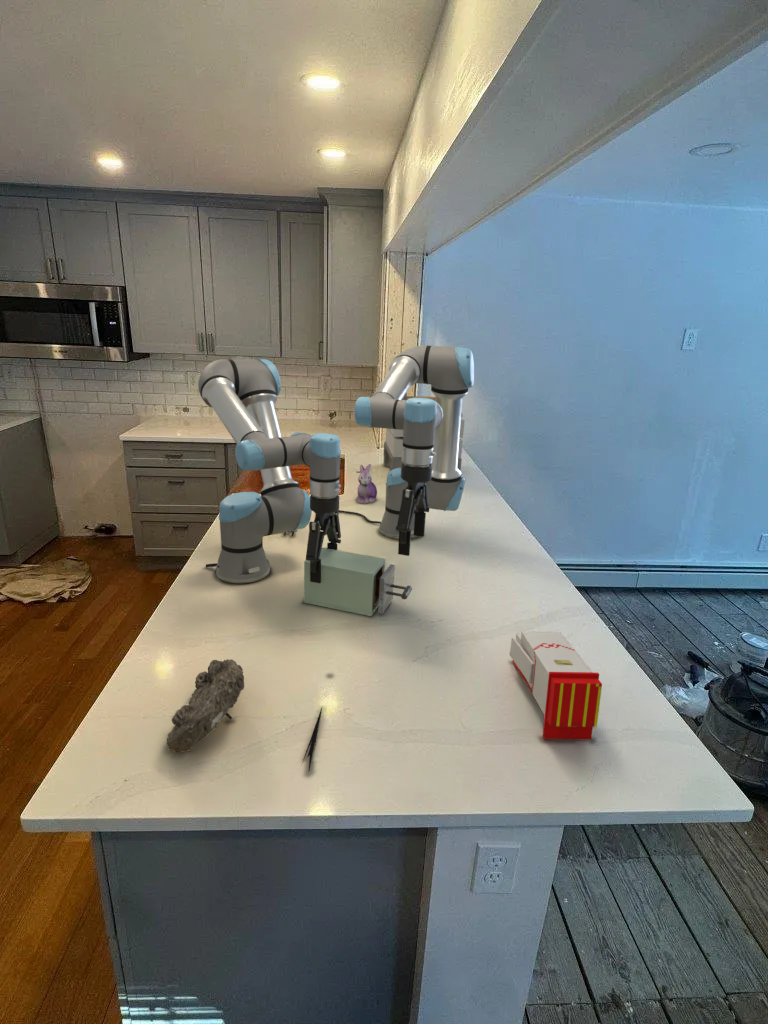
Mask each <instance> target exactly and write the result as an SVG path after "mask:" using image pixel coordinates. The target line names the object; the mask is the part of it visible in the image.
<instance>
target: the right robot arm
mask: <svg viewBox="0 0 768 1024" xmlns="http://www.w3.org/2000/svg"><path fill="white" fill-rule="evenodd" d="M474 383H475V361H474V354H473V352H472V350H471V349H469V348H467V347H460V346H449V345H428V344H422V345H420V344H419V345H415V346H412V347H410V348H407V349H406V350H403V351H402V352H400V353H399V354H397V355H396V356H395V357H394V358H393V359H392V360H391V362H390V364H389V366H388V372H387V373H386V375H385V376H384V378H383V380H382V381H381V382H380V384H379V385H378V387H377V388H376V390H375V391H374V392H373V394H372V395H371V397H370V396H359V397H358V398H357V399H356V401H355V404H354V421H355V423H356V425H358V426H361V427H367V428H375V429H386V428H387V429H398V430H403V445H402V459H401V461H402V462H403V464H402V465H401V468H396V469H393V470H391V471H390V470H389V472H388V473H387V475H386V482H385V504H384V505H385V507H384V508H385V509H384V513H383V515H382V519H381V521H379V520H370V519H369V518H368V517H366V516H365V515H364V514H363V513H359V512H355V511H349V510H340V509H339V513H343V514H348V515H349V514H350V515H357V516H360V517H362V518H363V519H364V520H365V521H366V522H368V523H371V524H379V526H378V533H379V534H380V535H381V536H382V537H385V538H387V539H389V540H395V541H398V544H397V545H398V547H397V548H398V549H397V555H401V556H406V557H409V556H410V554H411V540H415V539H418V538H420V537H423V538H424V537H425V531H426V516H427V513H429V512H430V510H431V509H432V510H439V511H443V512H445V511H447V512H456V511H457V510H458V509H459V508H460V504H461V501H462V498H463V497H462V496H463V493H464V488H465V484H466V478H465V477H463V476H462V470H461V471H460V470H459V469H458V468H457V464H458V451H459V438H460V426H461V418H462V417H461V413H462V414H463V411H462V410H463V399H464V397H465V396H466V395H467V394H468V393H469V389H470V388H473V387H474ZM415 384H423V385H430V392H431V393H432V394H433V395H434V397H435V401H434V400H432V399H427V398H410V399H408V400H402V399H403V398H404V396H405V394H406V393H407V394H408V392H409V389H410V388H411V387H412V386H414V385H415ZM460 439H461V438H460ZM431 463H432V465H431Z"/></svg>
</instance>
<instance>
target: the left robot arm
mask: <svg viewBox="0 0 768 1024" xmlns="http://www.w3.org/2000/svg"><path fill="white" fill-rule="evenodd" d="M279 373H280V372H279V371H278V368H277V367H276V365H275V364H274V363H273V362H272V361H270V360H269V359H265V358H257V357H256V358H237V359H236V358H233V359H232V358H231V359H229V358H228V359H227V358H221V359H216V360H214V361H212V362H210V363H208V364H207V365H206V366H205V367H204V368H203V370H202V371H201V373H200V374H199V378H198V383H197V387H198V393H199V395H200V397H201V399H202V400H203V402H204V403H205V404H206V406H207V407H210V408H212V409H213V411H214V412H215V414H216V415H217V417H218V418H219V420H220V421H221V423H222V424H223V427H225V429H226V430H227V432H228V434H229V435H230V437H231V438H232V440H233V441H234V442H235V444H236V445H235V449H234V453H235V454H234V456H235V460H236V463H237V466H238V467H239V469H241V470H242V471H245V472H247V471H254V472H255V471H256V472H257V471H260V474H261V475H260V476H261V479H262V484H263V487H262V488H261V490H260V493H259V492H256V491H240V492H236V493H232V494H229V495H228V496H225V497H224V498H223V499H221V501H220V503H219V506H218V507H219V509H218V510H219V512H218V520H219V534H220V547H221V548H220V552H219V556H218V559H217V562H216V563H215V562H214V563H206V564H205V568H213V567H216V569H215V575H216V577H217V578H218V579H219V580H220V581H223V582H225V583H228V584H229V583H230V584H235V585H236V584H238V585H239V584H240V585H241V584H243V585H244V584H251V583H255V582H259V581H261V580H263V579H265V578H266V577H267V576H268V575H269V574H270V572H271V569H270V568H271V566H270V562H269V560H268V558H267V555H266V553H265V549H264V545H263V544H264V541H263V539H264V537H269V536H274V535H278V534H284V532H286V533H288V532H290V531H291V533H292V532H294V531H296V530H297V531H298V530H303V529H305V528H306V527H308V529H309V530H308V539H307V544H306V554H305V560H309V561H310V582H315V583H321V559H319V558H320V554H321V549H322V548H323V544H324V541H325V536H327V539H328V540H327V541H328V542H327V544H326V548H328V549H333V550H338V544H341V543H342V539H341V538H342V533H341V532H342V531H341V524H340V517H339V513H340V512H339V510H340V496H339V494H340V489H341V487H342V484H340V476H341V452H342V450H341V439H340V437H339V435H336V434H334V433H330V432H329V433H328V432H320V433H313V434H312V435H311V434H310V433H306V432H300V431H298V432H294V433H291V435H289V436H282V431H281V428H280V425H279V421H278V417H277V413H276V408H275V404H276V403H277V401H278V396H279V395H280V393H281V390H282V389H281V388H282V385H281V383H282V382H281V376H280V374H279ZM301 465H304V466H306V467H309V492H307V490H304V489H301V487H300V484H299V482H298V481H296V480H295V479H293V477H292V472H291V469H290V467H292V466H301ZM312 512H313V513H314V520H313V521H311V518H312ZM297 531H296V532H297ZM294 533H295V532H294Z"/></svg>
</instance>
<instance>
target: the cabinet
mask: <svg viewBox="0 0 768 1024" xmlns="http://www.w3.org/2000/svg"><path fill="white" fill-rule="evenodd" d="M319 559H321V583H315V582H310V561H309V560H306V559H305V560H304V562H303V577H304V578H303V587H304V589H303V591H304V592H303V594H304V595H303V597H304V599H303V600H304V601H303V603H304V604H309V605H314V606H320V607H324V608H328V609H333V610H337V611H343V612H348V613H352V614H356V615H357V614H358V615H362V616H368V617H372V616H373V615H374V614H375V612H376V610H377V609H378V608H379V602H378V603H377V604H376V606H375V607H374V609H373V596H374V576H375V575H376V574H377V572H378V571H379V570H380V568H381V567H382V566H384V569H383V574H384V572H385V571H386V561H387V560H386V559H387V558H383V557H379V556H372V555H366V554H361V553H355V552H352V551H351V552H350V551H344V550H339V549H337V550H333V549H328V548H327V547H322V549H321V554H320V558H319Z"/></svg>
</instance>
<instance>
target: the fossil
mask: <svg viewBox="0 0 768 1024" xmlns="http://www.w3.org/2000/svg"><path fill="white" fill-rule="evenodd" d="M243 670H244V669H243V667H242V665H240V664H237V662H236V661H235V660H234V659H232V658H231V659H227V658H226V659H224V660H223V661H222V660H217V659H212V660H211V661H210V663H209V665H208V666H207V671H201V672H199V673H198V674H197V675H196V676H195V680H194V684H195V685H194V687H195V689H194V690H193V693H192V694H191V697H190V698H189V700H188V704H184V705H182V706H181V707H180V709H177V710H176V711H175V713H174V715H173V716H172V718H171V723H172V724H173V727H172V730H171V731H170V732H168V734H167V738H166V741H167V742H166V745H167V749H168V750H169V751H173V752H174V753H176V754H178V753H182V752H188V751H189V752H192V751H193V750H195V748H196V747H197V746H199V744H200V743H201V742H203V741H204V740H205V739H206V738H207V737H208V736H209V735H210V734H211V733H212V732H214V730H215V729H217V727H218V726H219V724H220V722H221V721H222V720H223V719H224V718H225V716H226V717H227V719H229V720H233V717H232V715H230V714H229V710H230V709H231V708H234V706H235V704H236V703H237V702H238V699H239V697H240V695H241V693H242V691H243V690H245V689H244V688H245V675H244V671H243Z"/></svg>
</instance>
